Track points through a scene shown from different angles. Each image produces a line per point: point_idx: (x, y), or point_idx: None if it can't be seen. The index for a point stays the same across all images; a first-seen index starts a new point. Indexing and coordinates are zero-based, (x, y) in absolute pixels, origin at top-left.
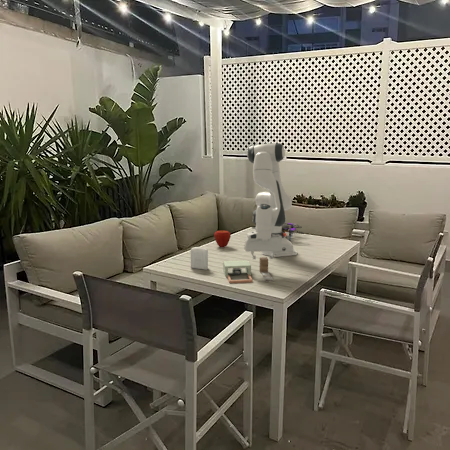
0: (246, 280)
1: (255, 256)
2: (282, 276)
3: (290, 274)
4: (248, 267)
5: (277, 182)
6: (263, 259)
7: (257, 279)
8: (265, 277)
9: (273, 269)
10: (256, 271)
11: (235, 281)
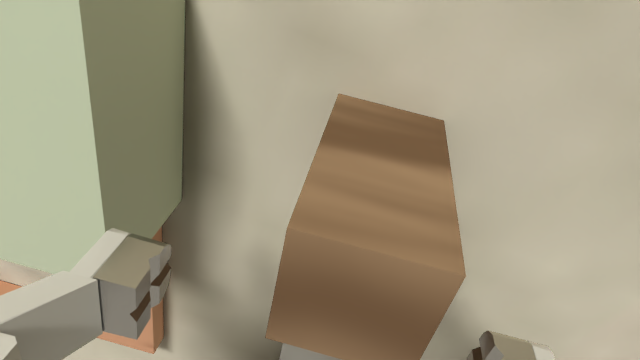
0: (103, 337)
1: (131, 336)
2: None
3: (631, 335)
4: None
5: None
6: (314, 349)
7: (220, 307)
8: (288, 346)
9: (593, 95)
10: (291, 86)
11: None
